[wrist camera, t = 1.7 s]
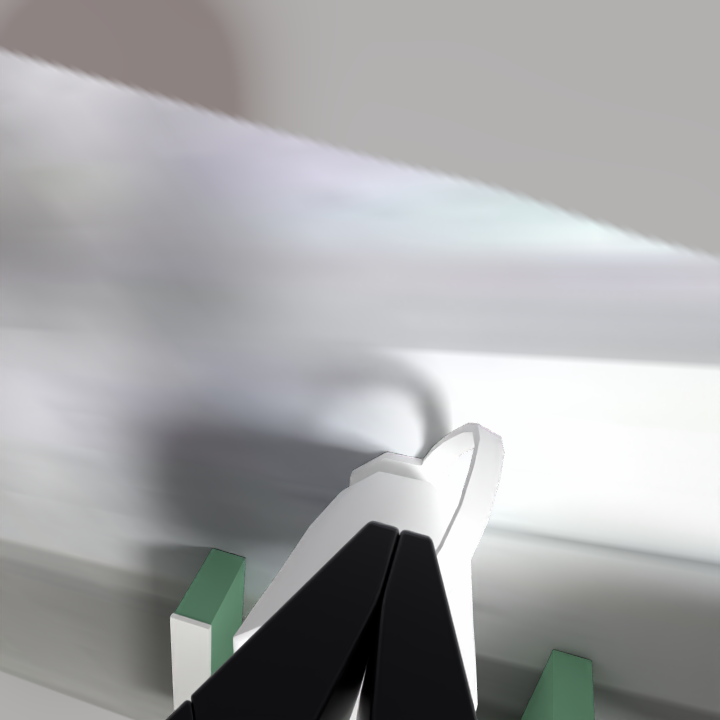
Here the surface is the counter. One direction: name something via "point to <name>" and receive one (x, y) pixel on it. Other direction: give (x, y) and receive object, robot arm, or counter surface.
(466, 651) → the cup
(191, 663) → the pocket
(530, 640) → the counter surface
